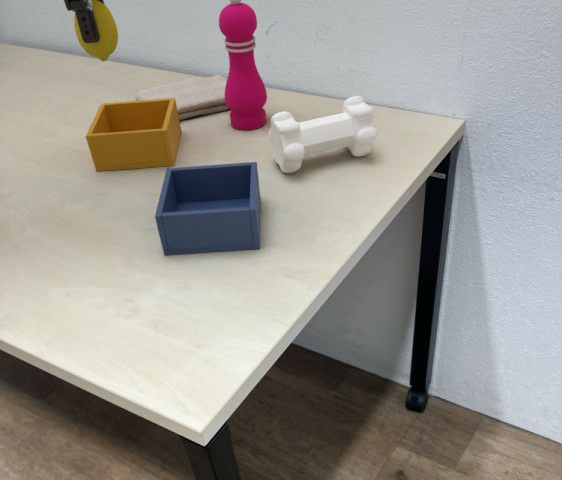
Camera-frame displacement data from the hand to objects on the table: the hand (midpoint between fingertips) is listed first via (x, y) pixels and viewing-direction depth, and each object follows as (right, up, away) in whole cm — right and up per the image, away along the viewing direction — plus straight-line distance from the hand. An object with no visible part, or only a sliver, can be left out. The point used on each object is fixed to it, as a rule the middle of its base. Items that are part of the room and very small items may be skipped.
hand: (97, 33), depth 83 cm
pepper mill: (+20, -3, +24) cm, 31 cm away
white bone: (+32, -13, +12) cm, 36 cm away
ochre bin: (+2, -9, +18) cm, 21 cm away
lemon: (0, -3, +3) cm, 4 cm away
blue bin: (+16, -26, 0) cm, 31 cm away
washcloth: (+8, +3, +30) cm, 31 cm away
